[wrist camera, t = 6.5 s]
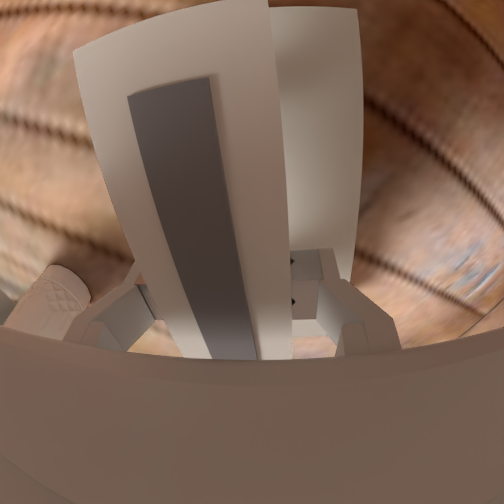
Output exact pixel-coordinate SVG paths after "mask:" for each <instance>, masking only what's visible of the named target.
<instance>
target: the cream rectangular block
mask: <svg viewBox="0 0 504 504" xmlns="http://www.w3.org/2000/svg"><path fill="white" fill-rule="evenodd" d="M73 56H74V62H75V68H76V74H77V79H78V84H79V89H80V94H81V98H82V103H83V107H84V111H85V115H86V119H87V123H88V127H89V131H90V134H91V138H92V142H93V145H94V149H95V152H96V155H97V159H98V162H99V165H100V168H101V171H102V175H103V178H104V181H105V184H106V187H107V189H108V192H109V195H110V198H111V201H112V204H113V206H114V209H115V212H116V214H117V217H118V220H119V222H120V225H121V227H122V230H123V232H124V235H125V237H126V240H127V242H128V245H129V247H130V249H131V252H132V254H133V257H134V259H135V261H136V263H137V266H138V268H139V270H140V272H141V275H142V277H143V279H144V281H145V283H146V285H147V288H148V290H149V292H150V294H151V296H152V298H153V300H154V302H155V304H156V306H157V308H158V310H159V312H160V314H161V316H162V318H163V320H164V322H165V324H166V326H167V328H168V330H169V331H170V333H171V335H172V337H173V339H174V341H175V343H176V344H177V346H178V348H179V350H180V352H181V353H182V355H183V357H185V358H201V359H226V360H284V359H292V304H291V268H290V243H289V222H288V203H287V186H286V171H285V157H284V144H283V132H282V120H281V109H280V99H279V89H278V79H277V70H276V61H275V52H274V44H273V36H272V28H271V21H270V13H269V6H268V0H223V1H217V2H212V3H207V4H202V5H197V6H192V7H188V8H184V9H180V10H176V11H173V12H169V13H165V14H162V15H159V16H155V17H152V18H149V19H146V20H143V21H140V22H138V23H135V24H132V25H129V26H127V27H124V28H122V29H119V30H117V31H114V32H112V33H109V34H107V35H105V36H102V37H100V38H98V39H96V40H94V41H92V42H90V43H87V44H85V45H83V46H81V47H79V48H78V49H76V50H74V51H73Z"/></svg>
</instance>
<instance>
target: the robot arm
mask: <svg viewBox="0 0 504 504" xmlns="http://www.w3.org/2000/svg"><path fill="white" fill-rule="evenodd" d="M290 268H291V304H292V320H308V319H316V321H317V322H318V323H319V325H320V326H321V327H322V328H323V330H324V331H325V332H326V333H327V335H328V336H329V337H330V338H331V340H332V341H333V342H334V343H335V345H336V346H337V349H336V354H335V357H325V358H308V359H284V360H226V359H201V358H185V357H172V356H161V355H151V354H142V353H133V352H126V351H127V350H128V349H129V348H130V347H131V346H132V345H133V344H134V343H135V342H136V341H137V340H138V339H139V338H140V337H141V336H142V335H143V334H144V332H145V331H146V330H147V329H148V328H149V327H150V326H151V325H152V324H153V323H154V322H155V320H163V318H162V316H161V314H160V312H159V310H158V308H157V306H156V304H155V302H154V300H153V298H152V296H151V294H150V292H149V290H148V288H147V285H146V283H145V281H144V279H143V277H142V275H141V272H140V270H139V268H138V266H137V263H136V261H135V262H134V263H133V265H132V267H131V269H130V271H129V272H128V274H127V276H126V278H125V280H124V281H123V283H122V285H118V286H116V287H115V288H113V289H112V290H111V291H109V292H108V293H107V294H105V295H104V296H102V297H101V298H100V299H98V300H97V301H96V302H94V303H93V304H92V305H90V306H89V307H88V308H86V309H85V310H84V311H82V312H81V313H80V314H79V315H77V316H76V317H75V318H74V319H73V321H72V323H71V325H70V327H69V328H68V330H67V332H66V334H65V336H64V338H63V340H62V341H60V340H56V339H51V338H47V337H42V336H38V335H34V334H30V333H26V332H22V331H19V330H15V329H11V328H8V327H4V326H1V325H0V504H504V327H502V328H498V329H495V330H491V331H487V332H484V333H480V334H476V335H472V336H468V337H463V338H459V339H454V340H450V341H445V342H440V343H435V344H429V345H424V346H418V347H412V348H406V349H402V348H401V344H400V341H399V337H398V334H397V330H396V327H395V324H394V321H393V318H392V317H390V316H389V315H388V314H387V313H386V312H385V311H383V310H382V309H381V308H380V307H379V306H377V305H376V304H375V303H374V302H373V301H371V300H370V299H369V298H368V297H366V296H365V295H364V294H363V293H362V292H360V291H359V290H358V289H357V288H355V287H354V286H353V285H352V284H351V283H349V282H348V281H347V280H346V279H341V278H340V274H339V270H338V266H337V262H336V258H335V254H334V250H333V248H332V247H328V248H318V249H304V250H290Z"/></svg>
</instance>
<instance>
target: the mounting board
mask: <svg viewBox="0 0 504 504" xmlns="http://www.w3.org/2000/svg"><path fill="white" fill-rule="evenodd" d="M269 13H270V21H271V28H272V36H273V44H274V52H275V61H276V70H277V79H278V89H279V99H280V109H281V120H282V132H283V144H284V157H285V171H286V186H287V203H288V222H289V243H290V250H304V249H318V248H328V247H332V248H333V250H334V254H335V258H336V262H337V266H338V270H339V274H340V278H341V279H346V280H347V281H348V282H349V283H350V277H351V271H352V264H353V257H354V250H355V242H356V233H357V224H358V215H359V204H360V192H361V178H362V159H363V73H362V56H361V43H360V32H359V23H358V14H357V9H352V8H340V7H320V6H290V7H270V8H269ZM313 336H328V335H327V333H326V332H325V331H324V330H323V328H322V327H321V326H320V325H319V323H318V322H317V321H316V319H308V320H292V338H293V337H313Z"/></svg>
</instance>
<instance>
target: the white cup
mask: <svg viewBox="0 0 504 504" xmlns="http://www.w3.org/2000/svg"><path fill="white" fill-rule="evenodd" d="M90 299H91V296H90V293H89V290H88V288H87V286H86V285H85V284H84V282H83V281H82V280H81V279H80V278H79V277H78V276H77V275H76V274H75V273H73V272H72V271H71V270H69V269H67V268H65V267H63V266H60V265H49V266H48V267H47V268H46V269H45V270H44V272H43V273H42V274H41V275H40V277H39V278H38V279H37V280H36V281H35V282H34V283H33V284H32V285H31V287H30V288H29V289H28V290H27V291H26V293H25V294H24V295H23V297H22V298H21V299H20V301H19V302H18V304H17V305H16V306H15V308H14V309H13V311H12V312H11V314H10V315H9V317H8V318H7V320H6V321H5V323H4V324H3V326H4V327H8V328H11V329H15V330H19V331H22V332H26V333H30V334H34V335H38V336H42V337H47V338H51V339H56V340H60V341H62V340H63V338H64V336H65V334H66V332H67V330H68V328H69V327H70V325H71V323H72V321H73V319H74V318H75V317H76V316H77V315H79V314H80V313H81V312H82V311H84V310H85V309H86V308H88V306H89V304H90Z"/></svg>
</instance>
